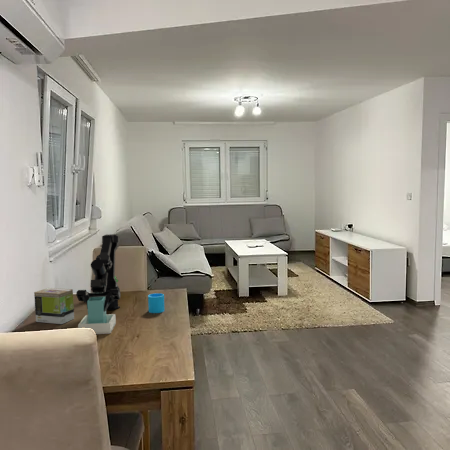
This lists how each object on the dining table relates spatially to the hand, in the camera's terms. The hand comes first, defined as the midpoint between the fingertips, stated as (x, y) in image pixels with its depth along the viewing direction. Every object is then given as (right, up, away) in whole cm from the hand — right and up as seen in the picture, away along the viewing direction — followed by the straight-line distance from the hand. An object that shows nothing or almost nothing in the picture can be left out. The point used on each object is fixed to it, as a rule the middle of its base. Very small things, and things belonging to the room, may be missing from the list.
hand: (96, 311), depth 193 cm
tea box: (-24, -8, +16) cm, 30 cm away
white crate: (0, -8, +2) cm, 9 cm away
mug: (+22, -6, +31) cm, 38 cm away
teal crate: (0, -6, +2) cm, 7 cm away
